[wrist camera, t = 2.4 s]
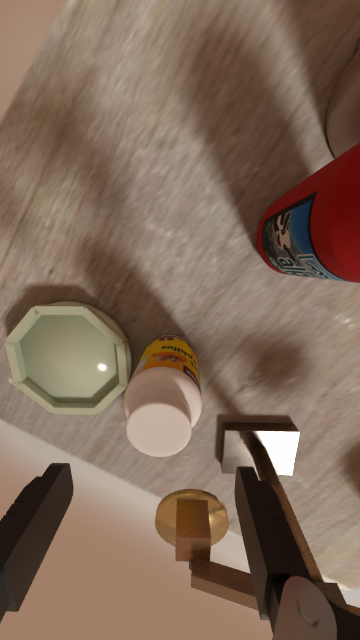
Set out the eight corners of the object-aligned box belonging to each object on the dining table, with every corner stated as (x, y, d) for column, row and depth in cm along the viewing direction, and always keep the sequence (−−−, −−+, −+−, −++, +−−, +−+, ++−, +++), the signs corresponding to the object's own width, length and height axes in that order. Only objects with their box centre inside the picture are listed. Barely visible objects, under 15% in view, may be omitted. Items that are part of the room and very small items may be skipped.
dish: (9, 300, 21) (-6, 303, 20) (129, 301, 21) (124, 304, 19) (31, 404, 24) (19, 414, 23) (135, 405, 24) (131, 417, 22)
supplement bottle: (207, 353, 22) (225, 425, 12) (175, 390, 23) (168, 482, 14) (164, 321, 21) (146, 372, 12) (133, 361, 23) (94, 438, 13)
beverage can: (239, 251, 20) (316, 235, 8) (282, 177, 18) (460, 21, 6) (299, 287, 20) (451, 320, 9) (346, 219, 19) (612, 147, 7)
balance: (164, 462, 26) (140, 699, 12) (164, 421, 25) (134, 637, 10) (344, 466, 26) (541, 720, 11) (355, 425, 24) (598, 658, 10)
